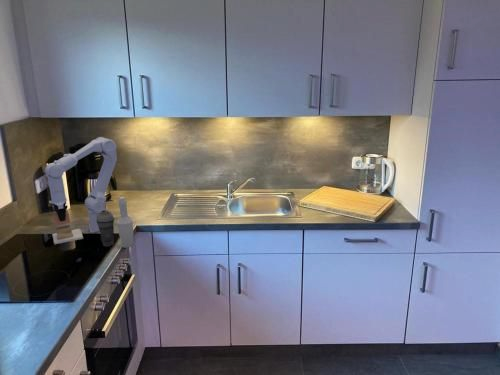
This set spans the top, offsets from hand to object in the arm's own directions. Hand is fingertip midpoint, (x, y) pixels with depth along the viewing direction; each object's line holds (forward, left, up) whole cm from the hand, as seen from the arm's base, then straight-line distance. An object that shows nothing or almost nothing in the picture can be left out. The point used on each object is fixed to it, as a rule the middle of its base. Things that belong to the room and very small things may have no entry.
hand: (62, 219), depth 184 cm
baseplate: (-1, -1, -9) cm, 10 cm away
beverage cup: (-16, +17, -10) cm, 25 cm away
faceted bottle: (-23, +23, -10) cm, 34 cm away
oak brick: (0, 0, -8) cm, 8 cm away
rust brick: (0, 0, -2) cm, 2 cm away
